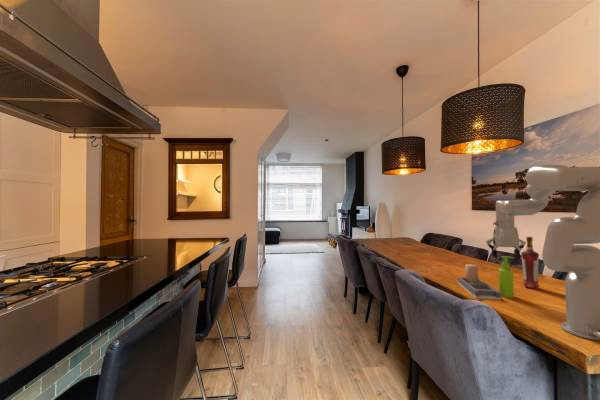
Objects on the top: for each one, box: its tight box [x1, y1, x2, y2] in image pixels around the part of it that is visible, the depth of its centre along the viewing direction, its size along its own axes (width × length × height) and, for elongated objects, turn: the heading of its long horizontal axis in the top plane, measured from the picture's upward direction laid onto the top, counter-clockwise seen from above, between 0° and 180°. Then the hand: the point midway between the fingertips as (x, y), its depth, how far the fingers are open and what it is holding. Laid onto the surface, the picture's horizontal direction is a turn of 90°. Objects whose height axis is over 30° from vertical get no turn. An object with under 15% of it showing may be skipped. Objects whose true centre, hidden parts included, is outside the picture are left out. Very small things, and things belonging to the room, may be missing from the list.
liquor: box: [520, 236, 540, 290], centre depth 146 cm, size 7×7×28 cm
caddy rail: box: [457, 263, 502, 301], centre depth 143 cm, size 26×11×12 cm, turn 166°
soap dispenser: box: [498, 255, 516, 299], centre depth 134 cm, size 6×7×20 cm
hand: (505, 257), depth 135 cm, fingers open, 9 cm apart
